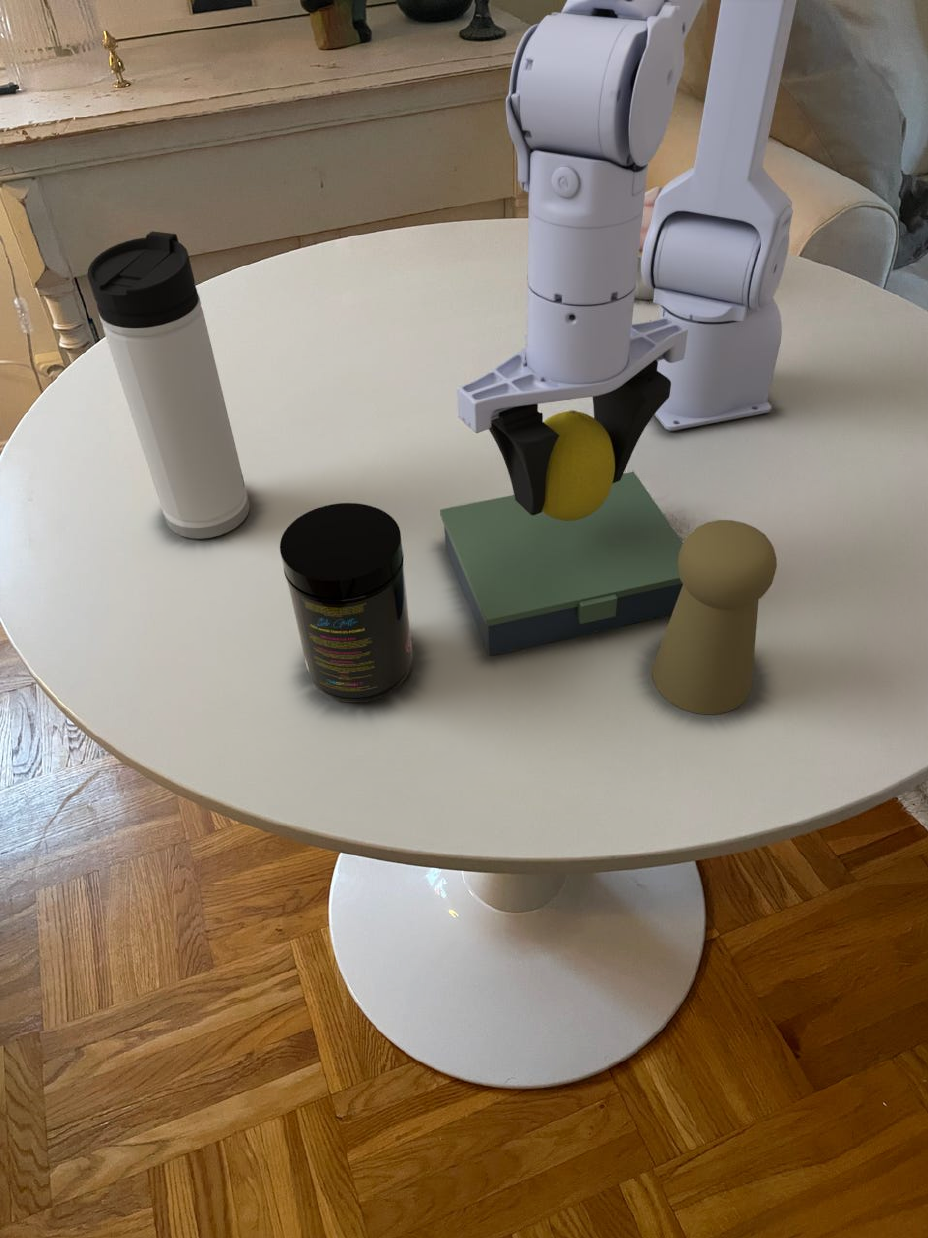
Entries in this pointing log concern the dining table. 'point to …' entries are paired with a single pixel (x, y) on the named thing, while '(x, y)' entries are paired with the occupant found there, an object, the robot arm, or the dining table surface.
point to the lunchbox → (563, 567)
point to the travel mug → (171, 382)
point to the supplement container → (349, 599)
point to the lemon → (578, 467)
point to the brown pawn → (715, 618)
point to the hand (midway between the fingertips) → (569, 489)
